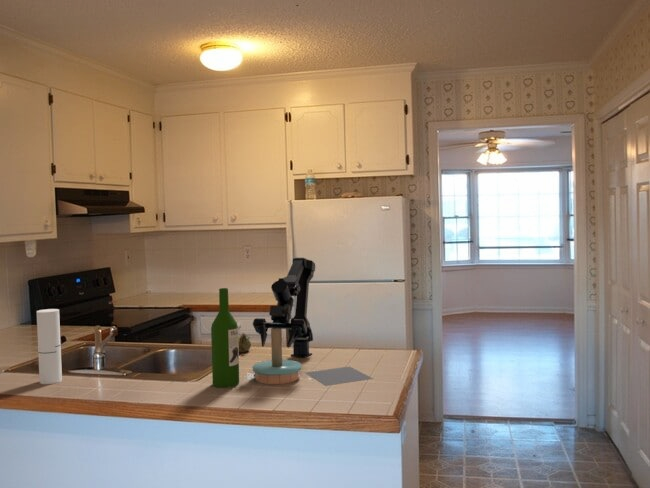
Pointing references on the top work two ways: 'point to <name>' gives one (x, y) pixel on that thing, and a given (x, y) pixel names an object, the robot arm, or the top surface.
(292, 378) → the bowl
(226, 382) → the wine bottle
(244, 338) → the artichoke
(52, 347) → the cylindrical container
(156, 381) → the top surface
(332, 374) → the mat
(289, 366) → the teal disc with post
